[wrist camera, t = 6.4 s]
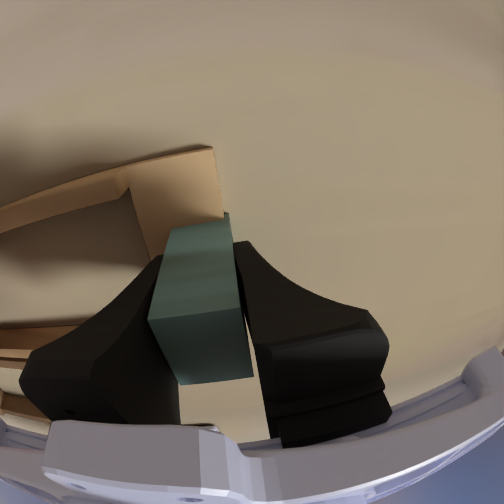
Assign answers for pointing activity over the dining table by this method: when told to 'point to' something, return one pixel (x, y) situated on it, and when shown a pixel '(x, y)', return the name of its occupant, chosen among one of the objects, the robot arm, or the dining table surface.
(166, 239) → the wooden divided tray
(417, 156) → the dining table surface
